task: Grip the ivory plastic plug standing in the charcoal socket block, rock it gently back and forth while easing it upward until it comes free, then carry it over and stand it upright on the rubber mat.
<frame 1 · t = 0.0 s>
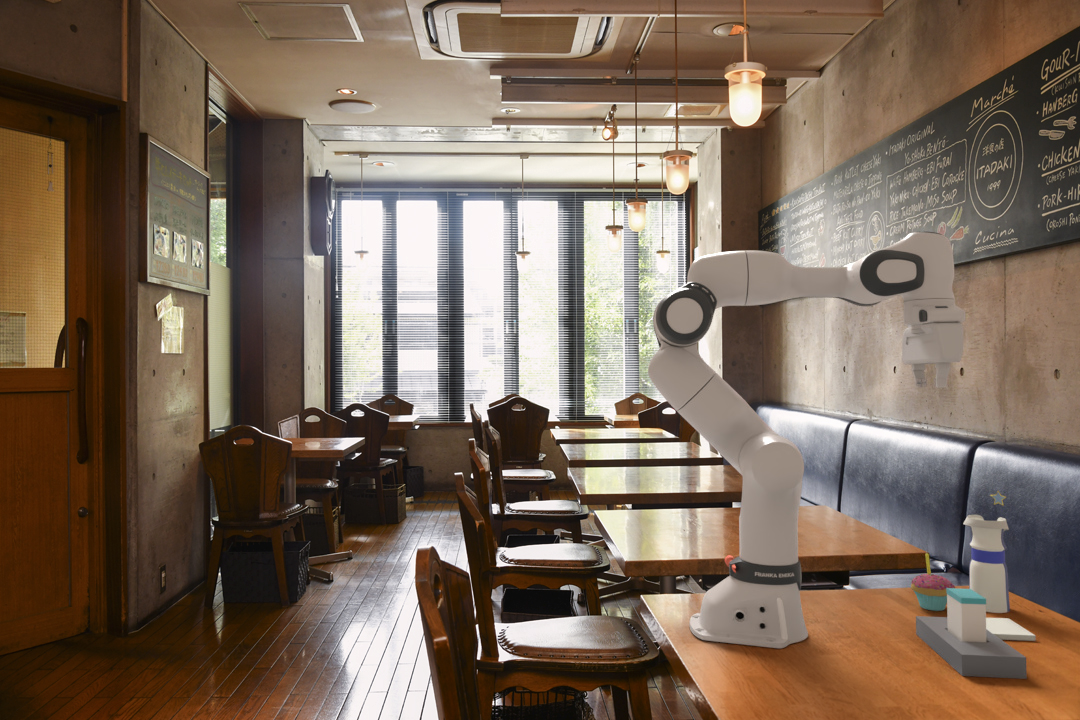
hand: (930, 387, 140), 48 cm above the table, fingers open, 8 cm apart
cupcake: (933, 608, 157), on the table
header: (966, 654, 130), on the table
plug: (966, 624, 130), in the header
mat: (994, 630, 143), on the table
water bottle: (987, 607, 158), on the table
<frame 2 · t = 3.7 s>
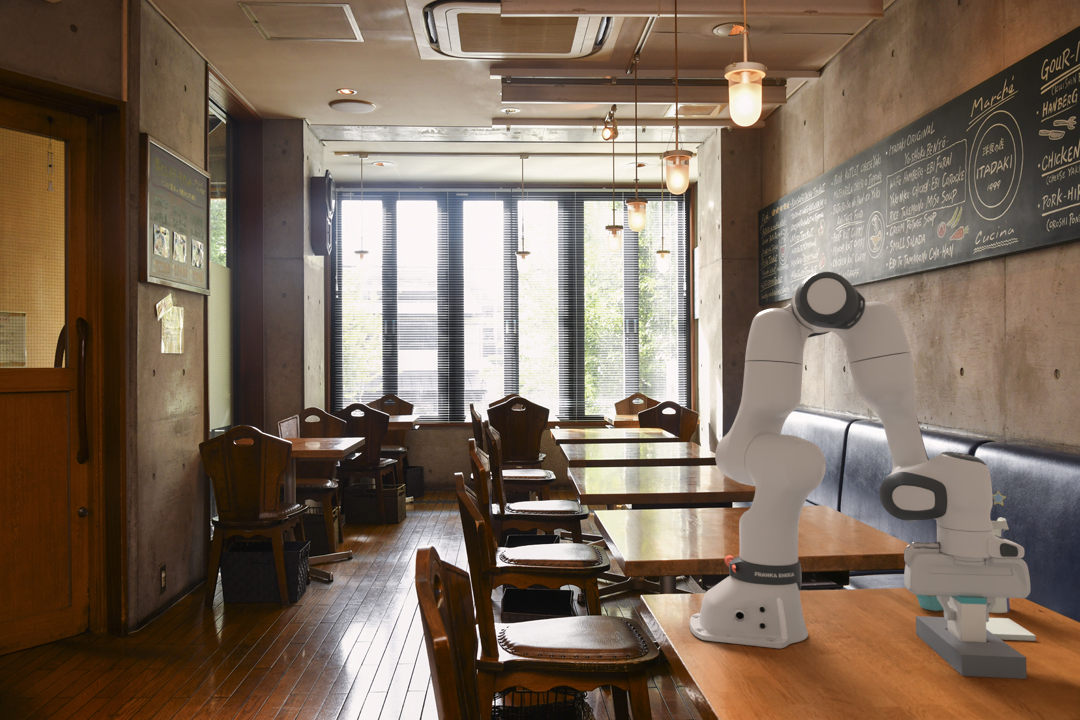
hand: (966, 620, 130), 6 cm above the table, fingers closed on plug, 4 cm apart
plug: (966, 624, 130), in the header, touching gripper
everything else where it was.
when the fingers open (9 cm above the table, at t = 11.4 s): plug drops 1 cm, resting on mat.
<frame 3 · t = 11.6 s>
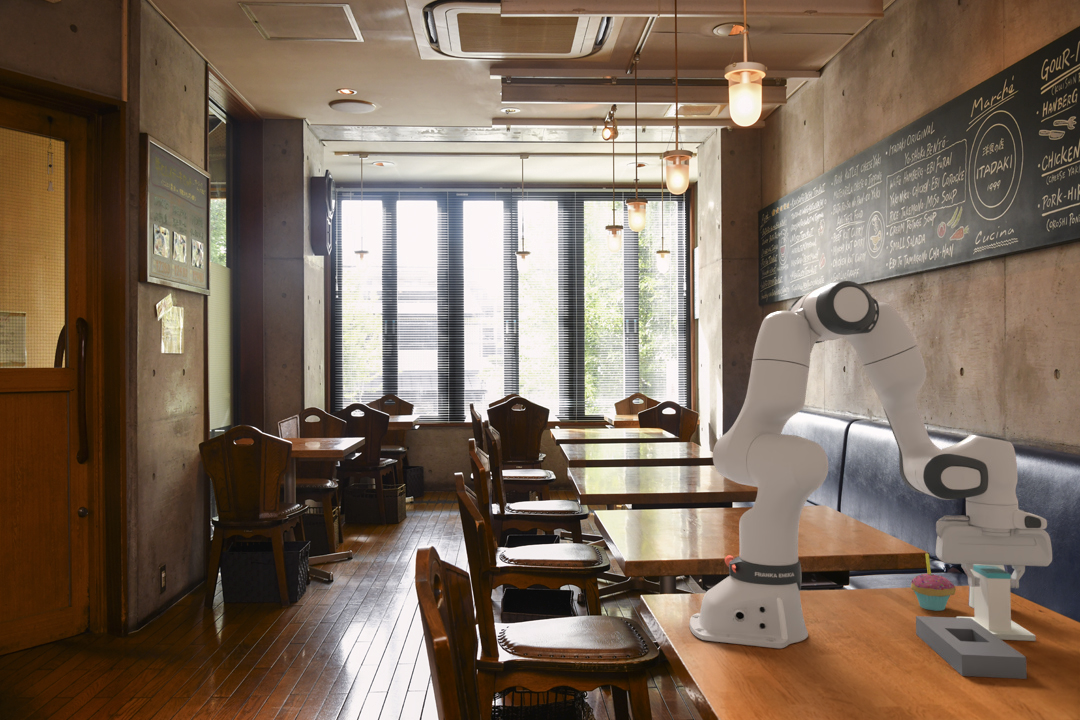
hand: (993, 586, 143), 9 cm above the table, fingers open, 6 cm apart
plug: (991, 597, 143), on the mat, point 6 cm above the table
everything else where it was.
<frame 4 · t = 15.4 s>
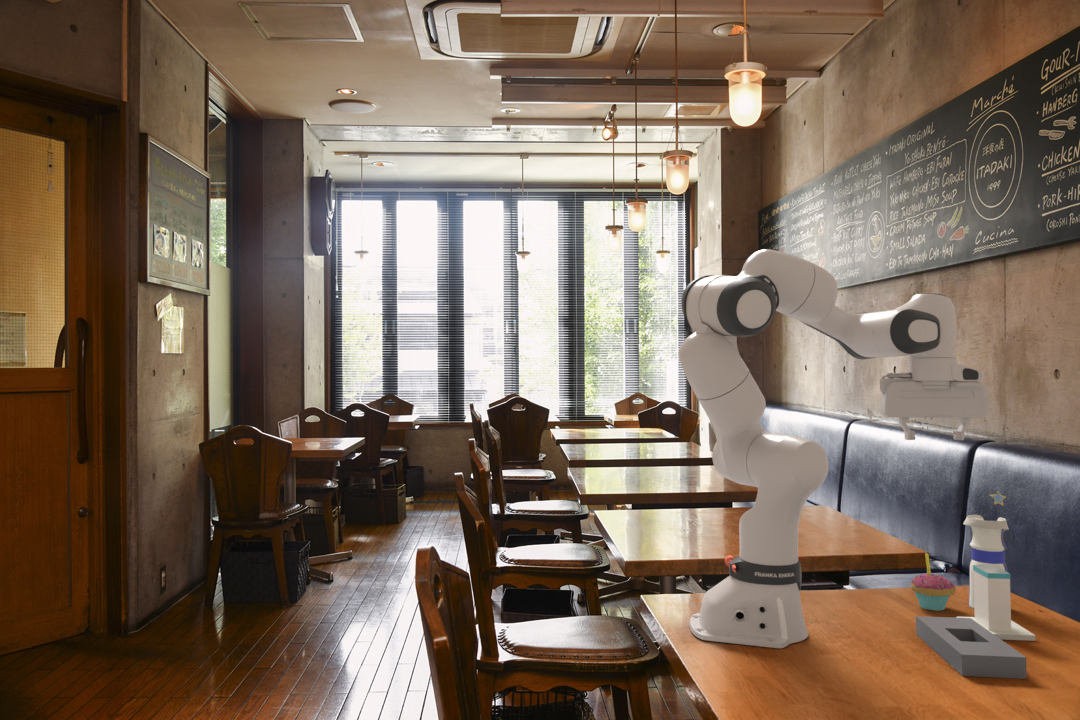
hand: (934, 439, 149), 37 cm above the table, fingers open, 8 cm apart
nothing on the table moved.
at the end: plug inside the target area on the mat (0.3 cm from its centre), point 6.5 cm above the mat's base; plug tilted 0°; plug touching mat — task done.
